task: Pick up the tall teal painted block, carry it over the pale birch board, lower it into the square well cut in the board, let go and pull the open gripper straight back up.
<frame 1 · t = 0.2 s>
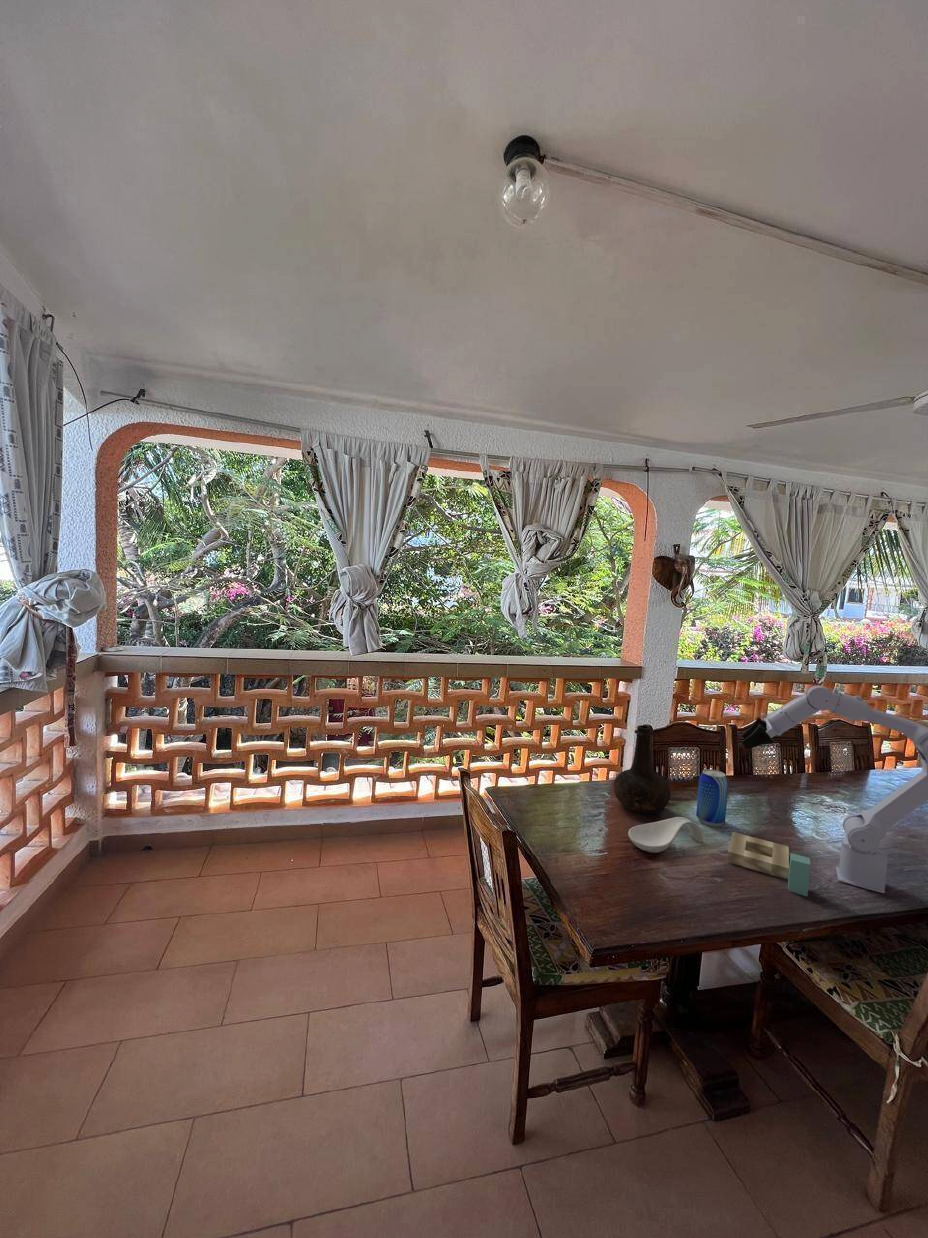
hand: (744, 742, 145), 31 cm above the table, tool tilted 45°, fingers open, 7 cm apart
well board: (757, 859, 142), on the table
glass bottle: (640, 809, 172), on the table
spoon rest: (665, 846, 148), on the table
teal block: (797, 890, 127), on the table
beer can: (710, 822, 164), on the table
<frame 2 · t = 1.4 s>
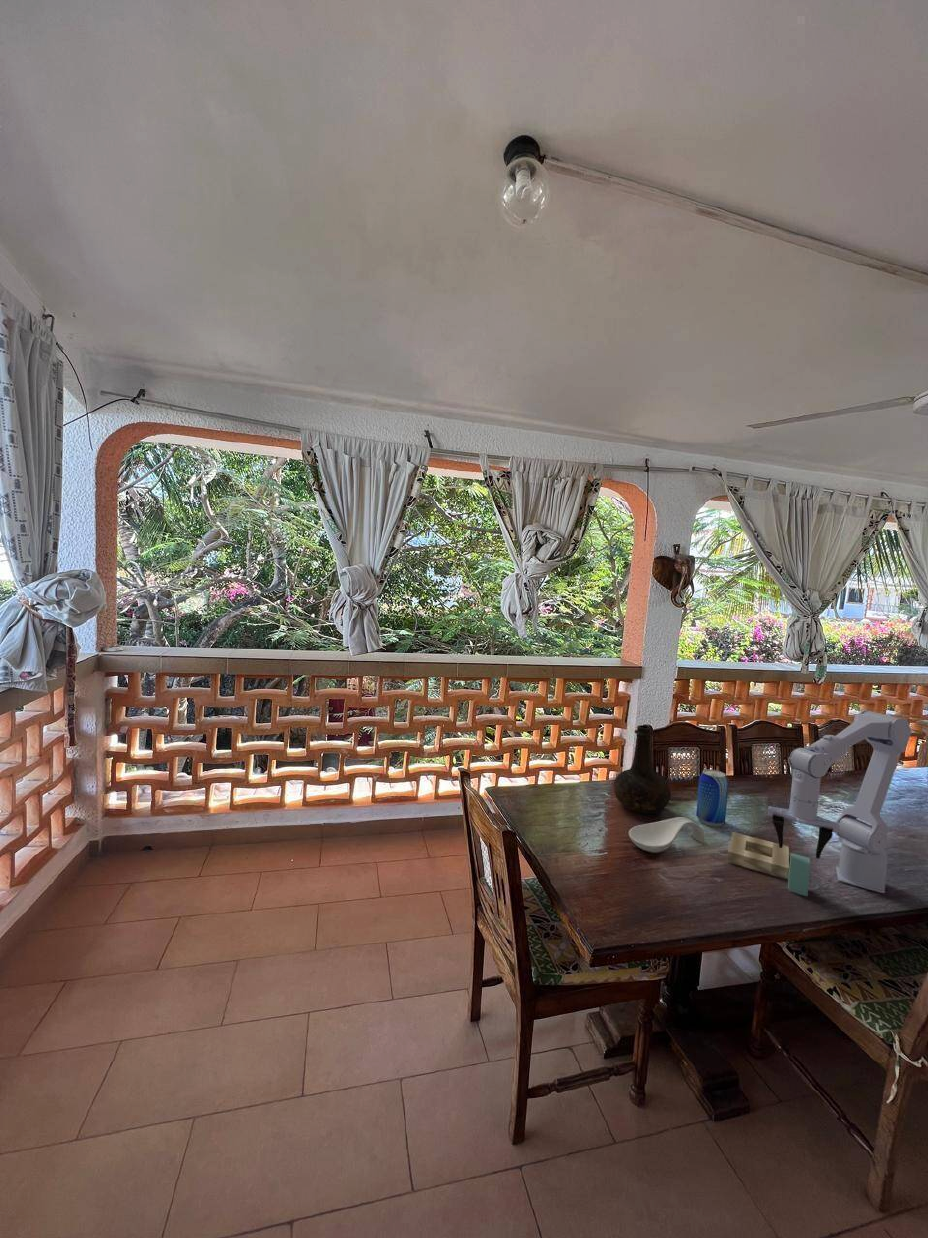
hand: (798, 851, 127), 10 cm above the table, tool pointing down, fingers open, 7 cm apart
nothing on the table moved.
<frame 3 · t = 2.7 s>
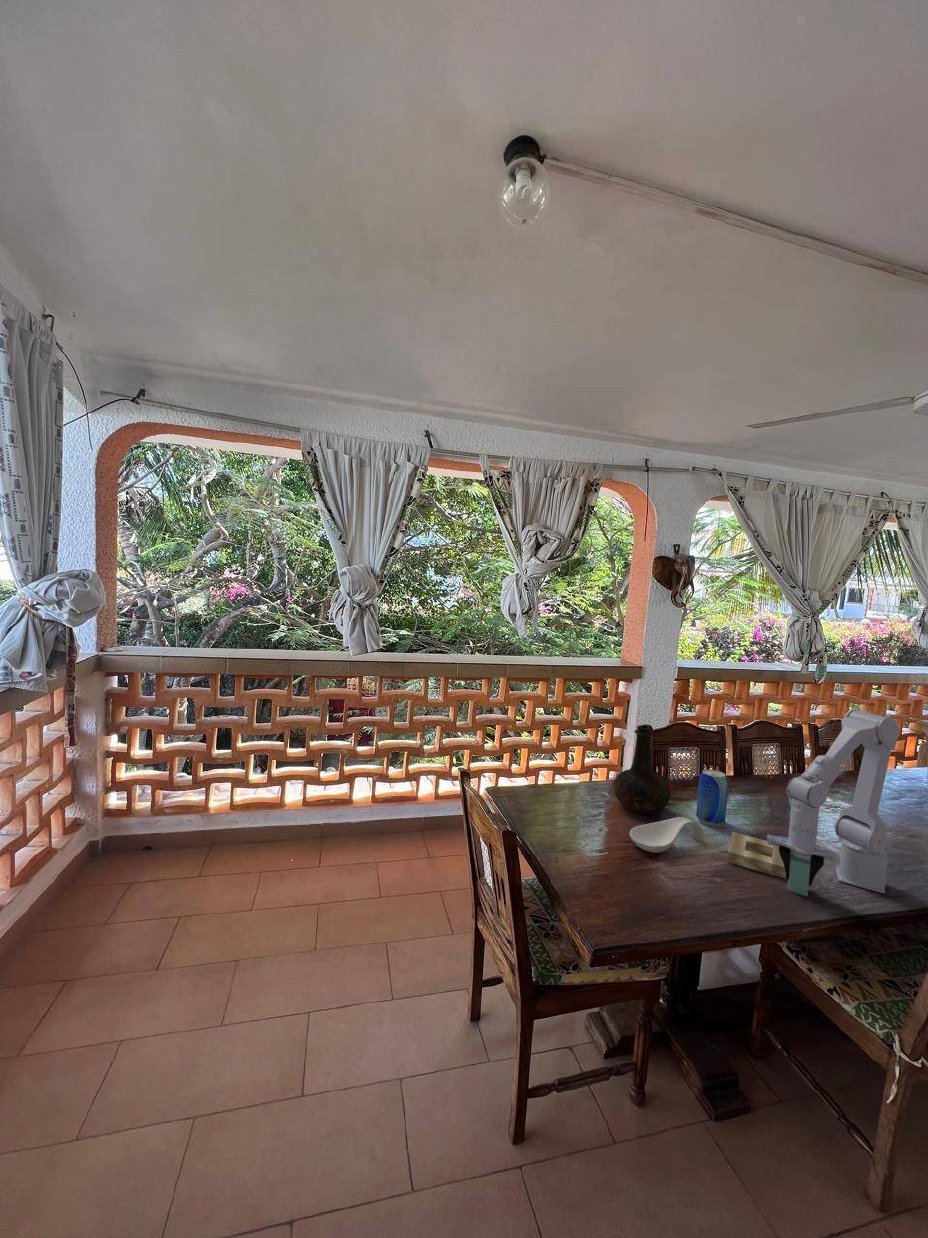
hand: (798, 880, 127), 2 cm above the table, tool pointing down, fingers closed on teal block, 4 cm apart
teal block: (797, 889, 127), on the table, touching gripper
everything else where it was.
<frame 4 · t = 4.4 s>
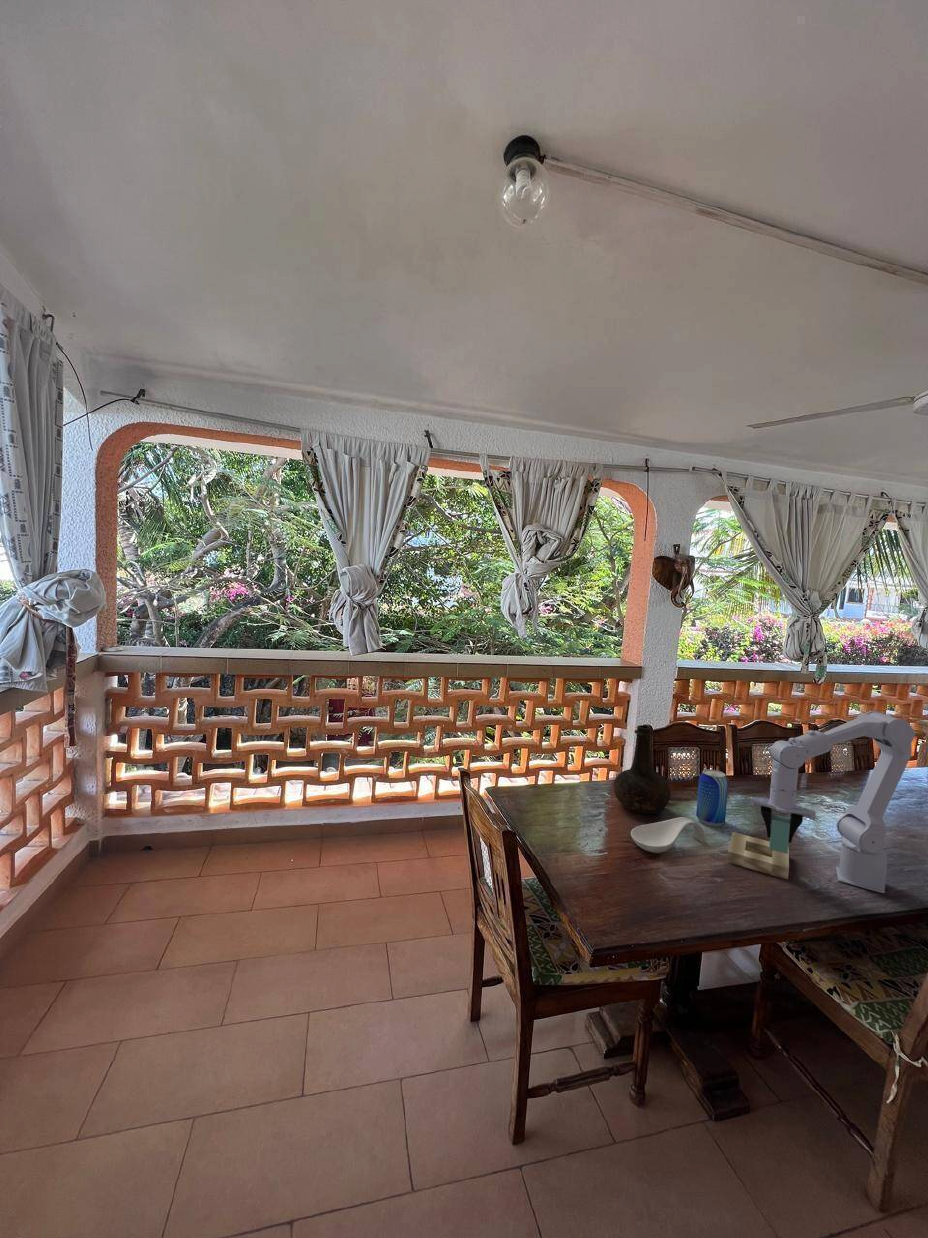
hand: (778, 838, 134), 9 cm above the table, tool pointing down, fingers closed on teal block, 4 cm apart
teal block: (778, 848, 134), point 7 cm above the table, touching gripper
everything else where it was.
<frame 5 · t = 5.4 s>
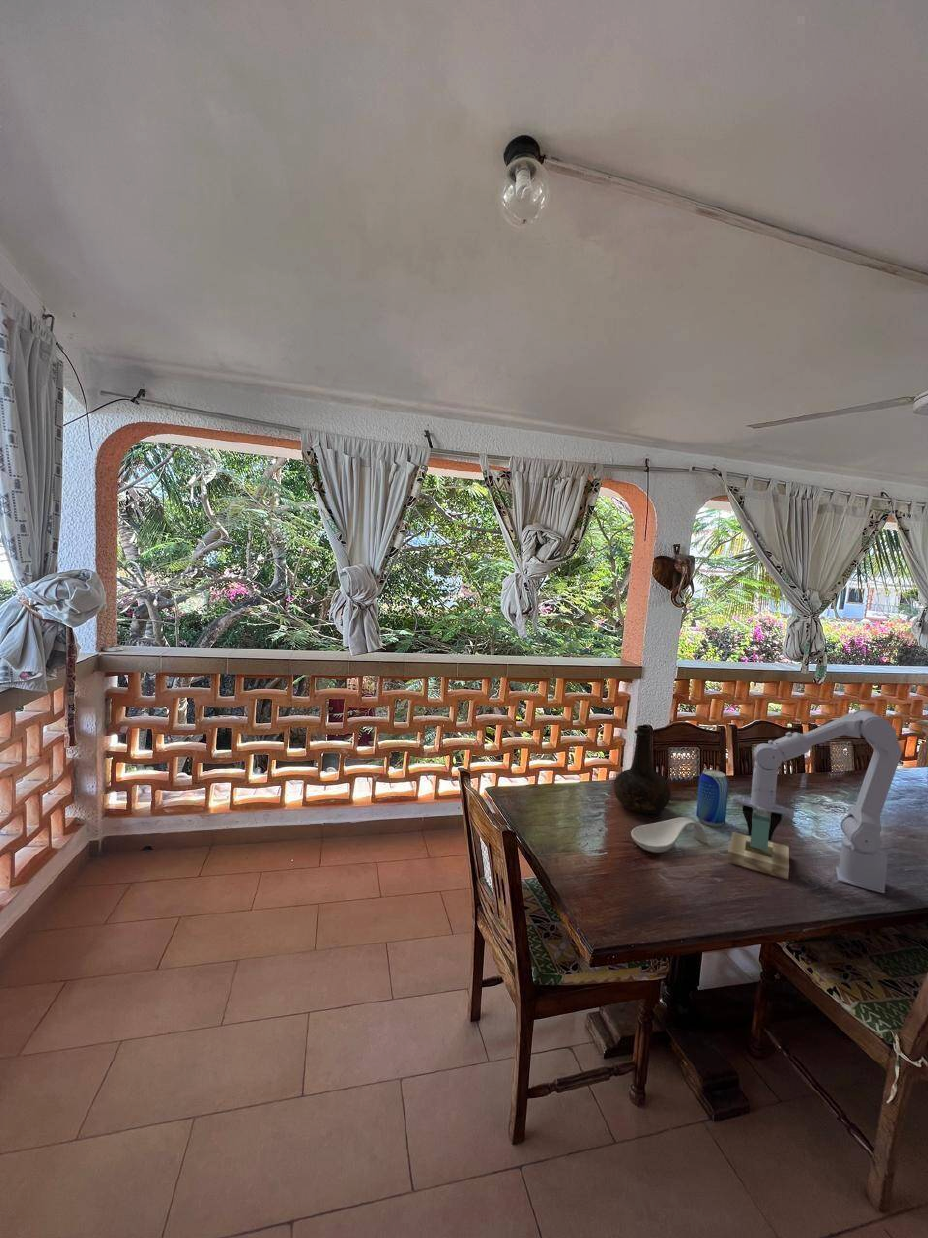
hand: (759, 836, 141), 7 cm above the table, tool pointing down, fingers closed on teal block, 4 cm apart
teal block: (759, 845, 141), point 4 cm above the table, touching gripper
everything else where it was.
when the fingers open (4 cm above the table, at t = 6.2 s): teal block drops 2 cm, resting in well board.
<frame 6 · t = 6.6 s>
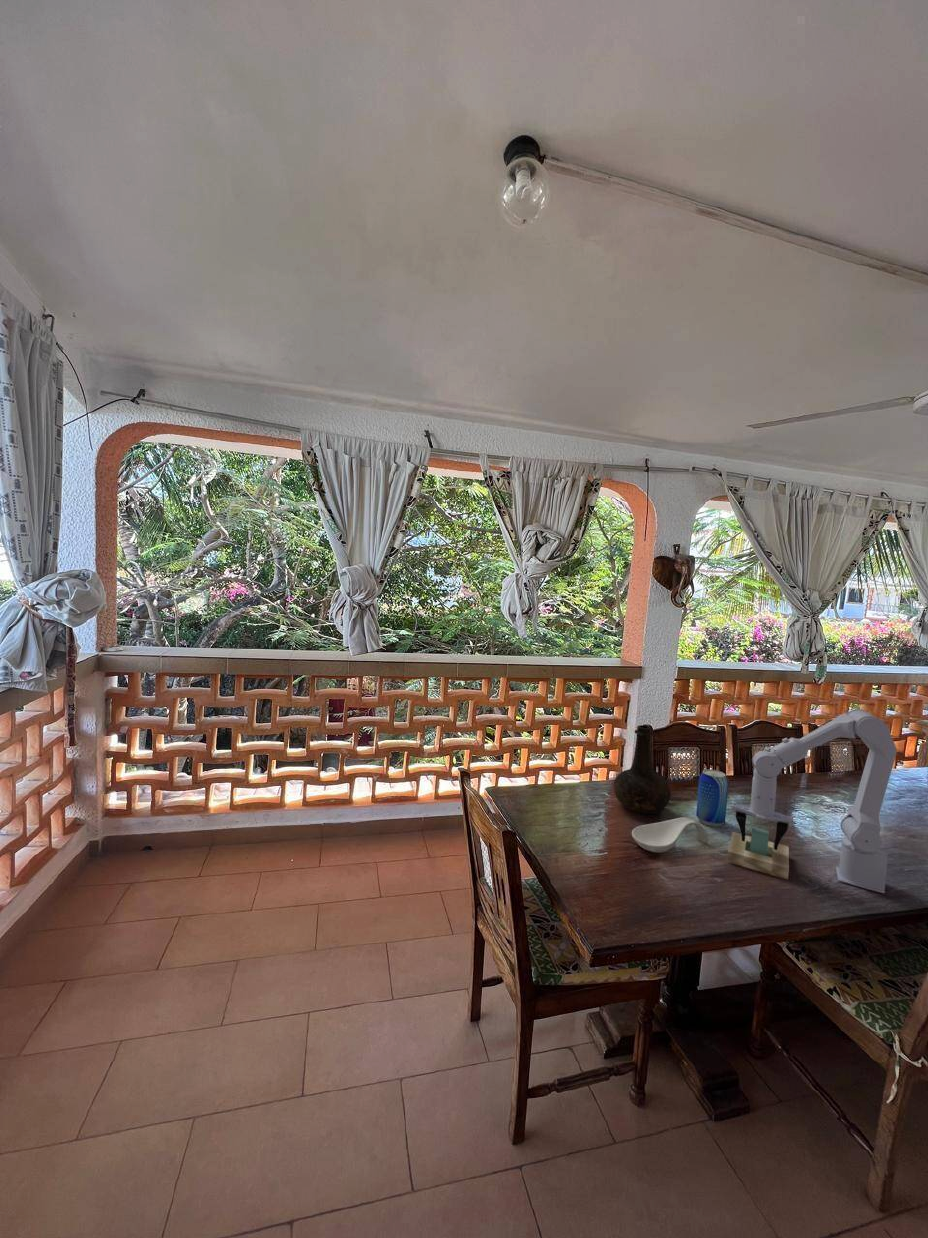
hand: (759, 844, 141), 4 cm above the table, tool pointing down, fingers open, 7 cm apart
teal block: (757, 859, 141), resting in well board
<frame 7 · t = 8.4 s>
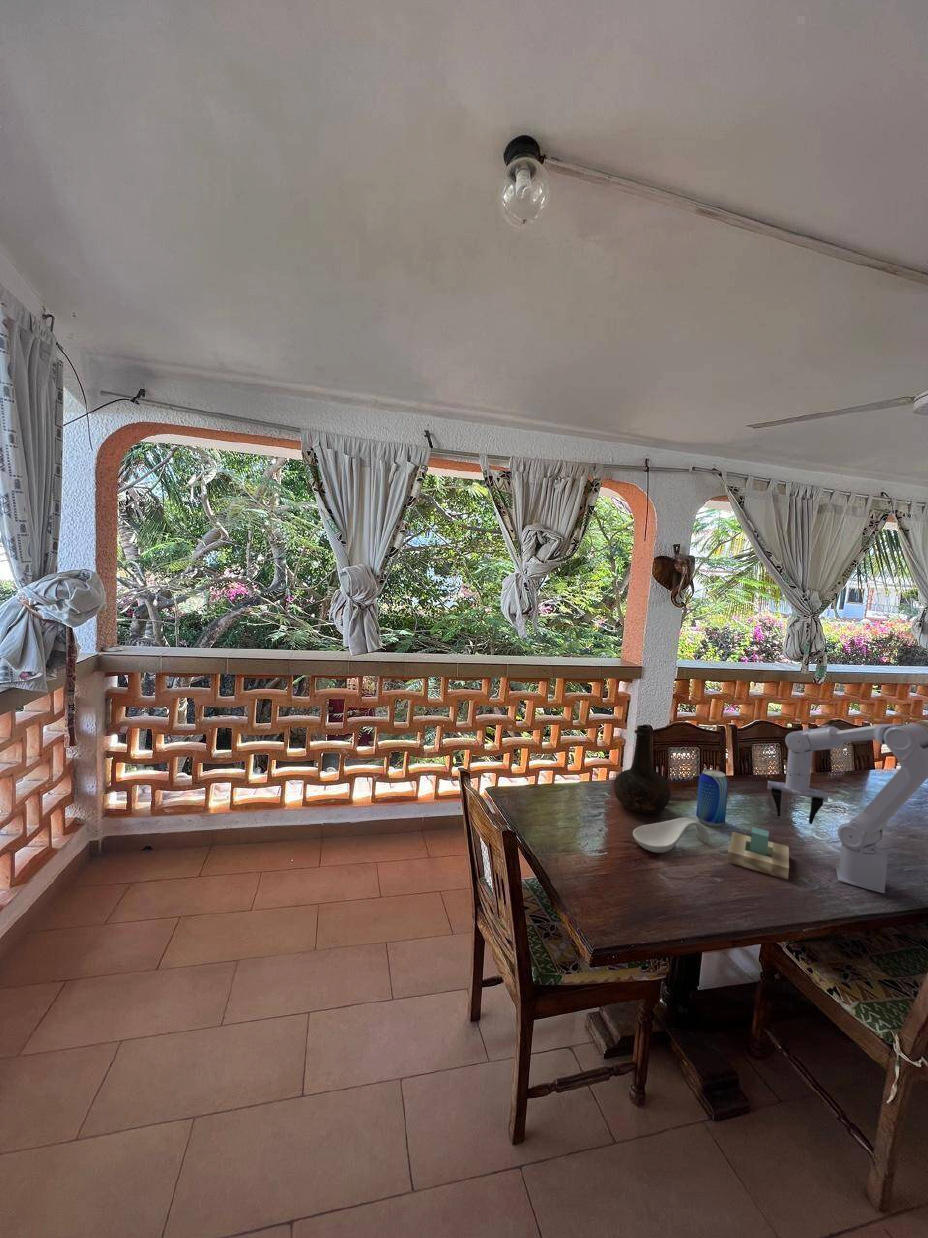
hand: (794, 819, 147), 9 cm above the table, tool pointing down, fingers open, 7 cm apart
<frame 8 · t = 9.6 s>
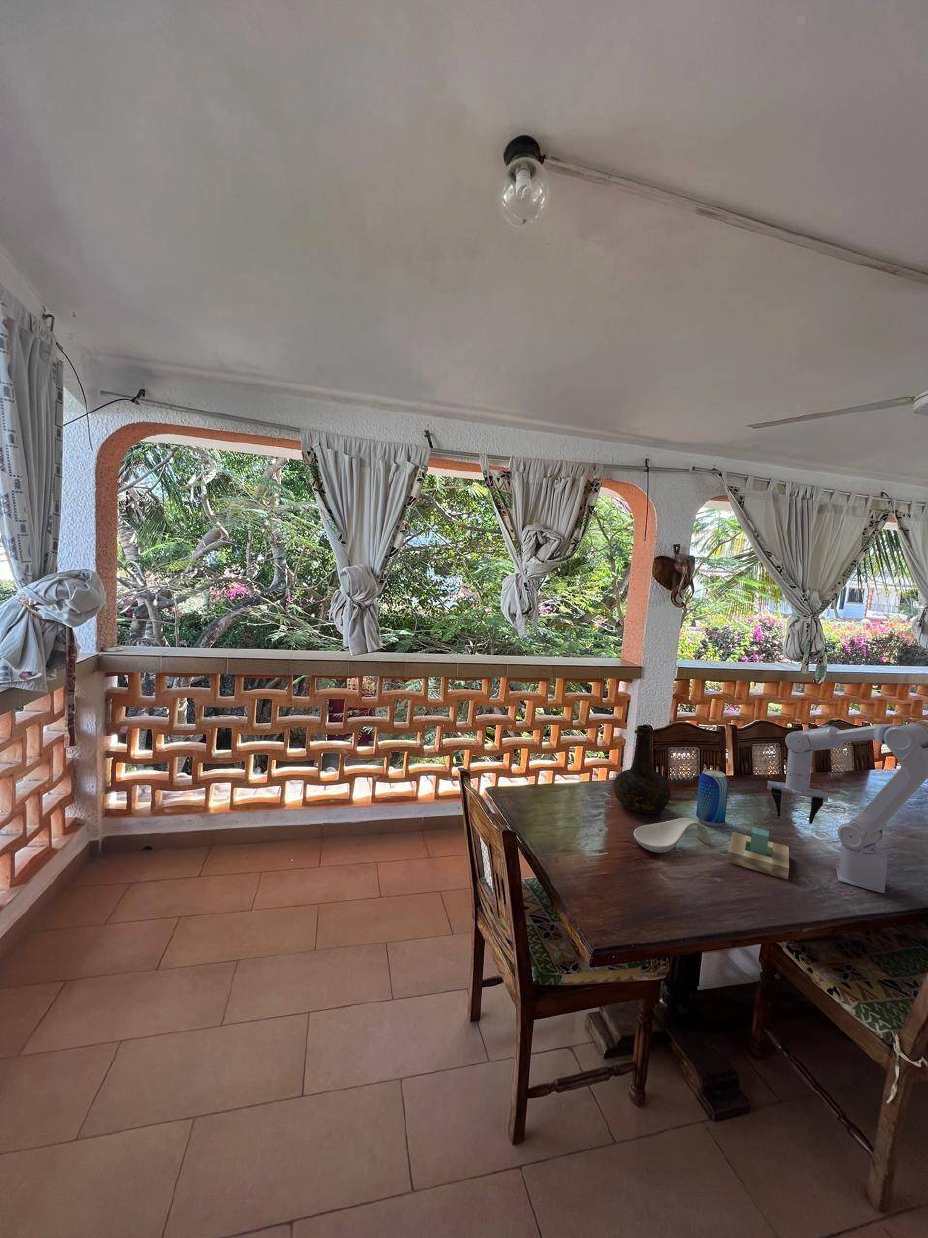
hand: (794, 819, 147), 9 cm above the table, tool pointing down, fingers open, 7 cm apart
at the end: teal block 0.2 cm off-centre on the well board, point 0.0 cm above the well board's base; teal block tilted 0°; the gripper is holding nothing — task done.
